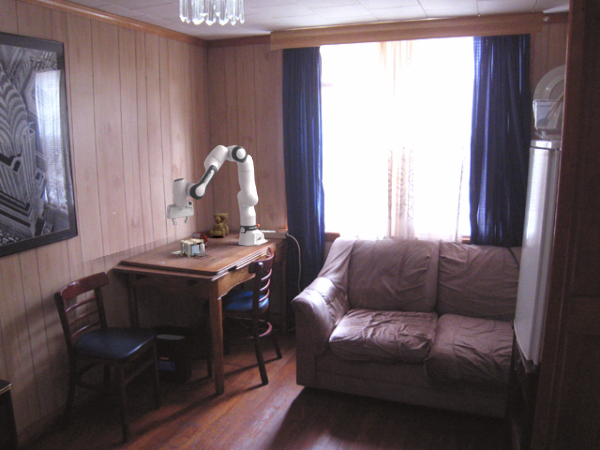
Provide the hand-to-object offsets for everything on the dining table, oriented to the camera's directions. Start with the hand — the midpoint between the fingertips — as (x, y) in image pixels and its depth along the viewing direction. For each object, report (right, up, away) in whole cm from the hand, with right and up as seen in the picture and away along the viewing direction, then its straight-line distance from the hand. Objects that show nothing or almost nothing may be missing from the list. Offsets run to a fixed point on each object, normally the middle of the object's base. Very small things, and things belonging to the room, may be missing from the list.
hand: (180, 224), depth 331 cm
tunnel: (+8, -20, -2) cm, 22 cm away
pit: (+17, -21, -9) cm, 29 cm away
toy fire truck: (+9, -17, +20) cm, 28 cm away
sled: (+8, -20, -2) cm, 22 cm away
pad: (-2, -19, +5) cm, 20 cm away
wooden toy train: (+17, -9, +60) cm, 63 cm away
